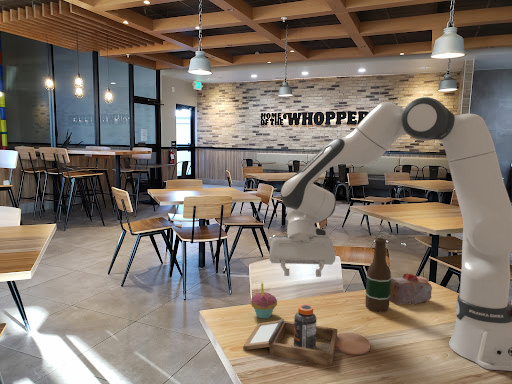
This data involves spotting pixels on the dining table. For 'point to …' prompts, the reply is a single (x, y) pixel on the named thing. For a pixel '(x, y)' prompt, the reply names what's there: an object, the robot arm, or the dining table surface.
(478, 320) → the robot arm
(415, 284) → the food item
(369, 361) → the dining table surface
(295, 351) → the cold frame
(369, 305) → the beer bottle
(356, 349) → the pink round plate
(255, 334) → the lid
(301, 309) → the pill bottle
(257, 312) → the cupcake
